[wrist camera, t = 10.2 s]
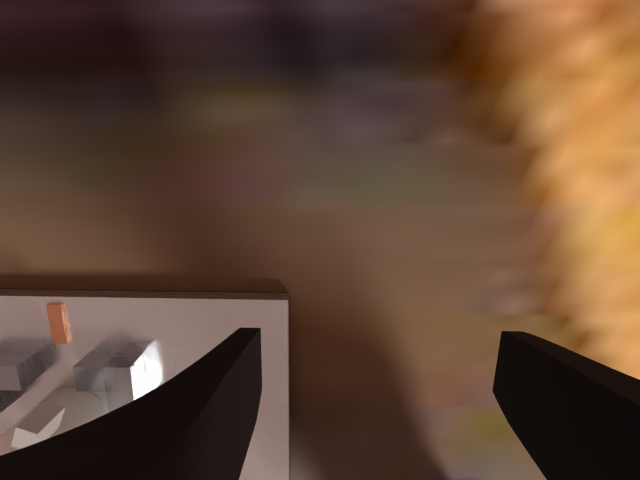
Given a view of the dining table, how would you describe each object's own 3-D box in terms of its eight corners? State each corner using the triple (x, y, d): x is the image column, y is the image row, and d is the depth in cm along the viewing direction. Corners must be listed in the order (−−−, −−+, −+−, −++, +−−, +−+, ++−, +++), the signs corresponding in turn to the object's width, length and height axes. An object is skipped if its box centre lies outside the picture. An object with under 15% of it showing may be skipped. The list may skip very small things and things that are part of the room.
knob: (102, 457, 22) (35, 550, 17) (32, 435, 21) (-59, 523, 16) (126, 383, 21) (63, 458, 16) (53, 357, 20) (-38, 426, 15)
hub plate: (290, 508, 24) (287, 548, 22) (30, 505, 24) (-3, 545, 22) (289, 293, 20) (285, 311, 18) (-19, 288, 20) (-65, 306, 18)
